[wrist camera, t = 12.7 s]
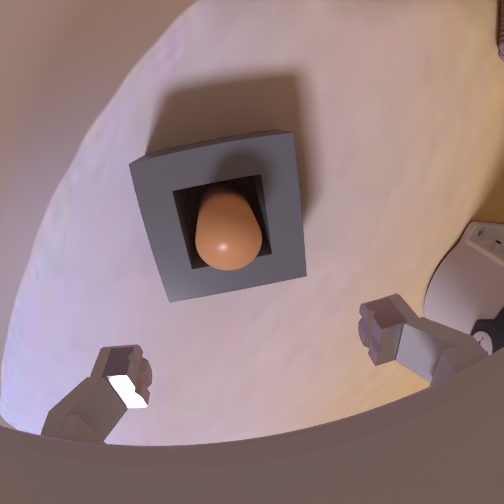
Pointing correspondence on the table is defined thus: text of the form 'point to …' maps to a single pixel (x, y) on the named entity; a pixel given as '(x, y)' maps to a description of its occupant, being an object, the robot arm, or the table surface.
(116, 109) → the table surface
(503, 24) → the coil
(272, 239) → the socket holder
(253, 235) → the peg
